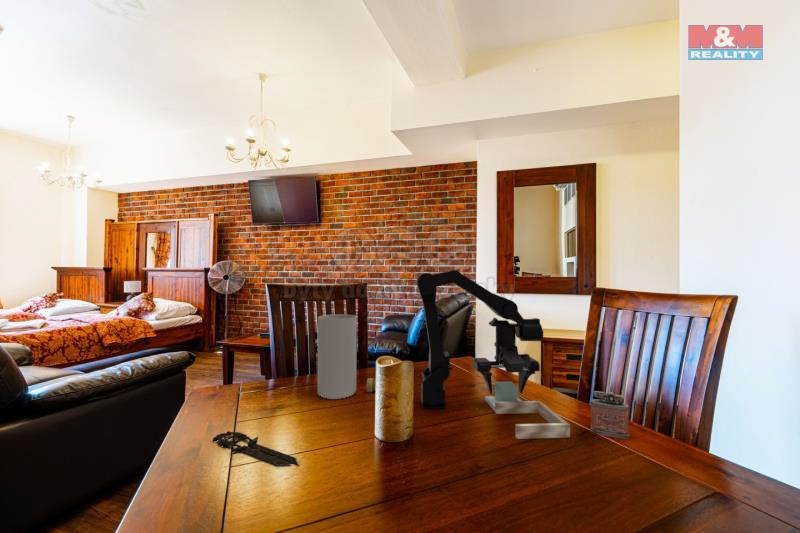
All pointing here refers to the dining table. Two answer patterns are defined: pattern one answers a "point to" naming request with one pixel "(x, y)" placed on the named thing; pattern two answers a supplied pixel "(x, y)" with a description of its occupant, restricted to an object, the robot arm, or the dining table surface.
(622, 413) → the lighter
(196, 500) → the dining table surface
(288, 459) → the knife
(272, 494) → the dining table surface
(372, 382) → the gavel
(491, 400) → the ceramic tile
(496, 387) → the cube
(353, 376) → the cylinder vase
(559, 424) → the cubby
